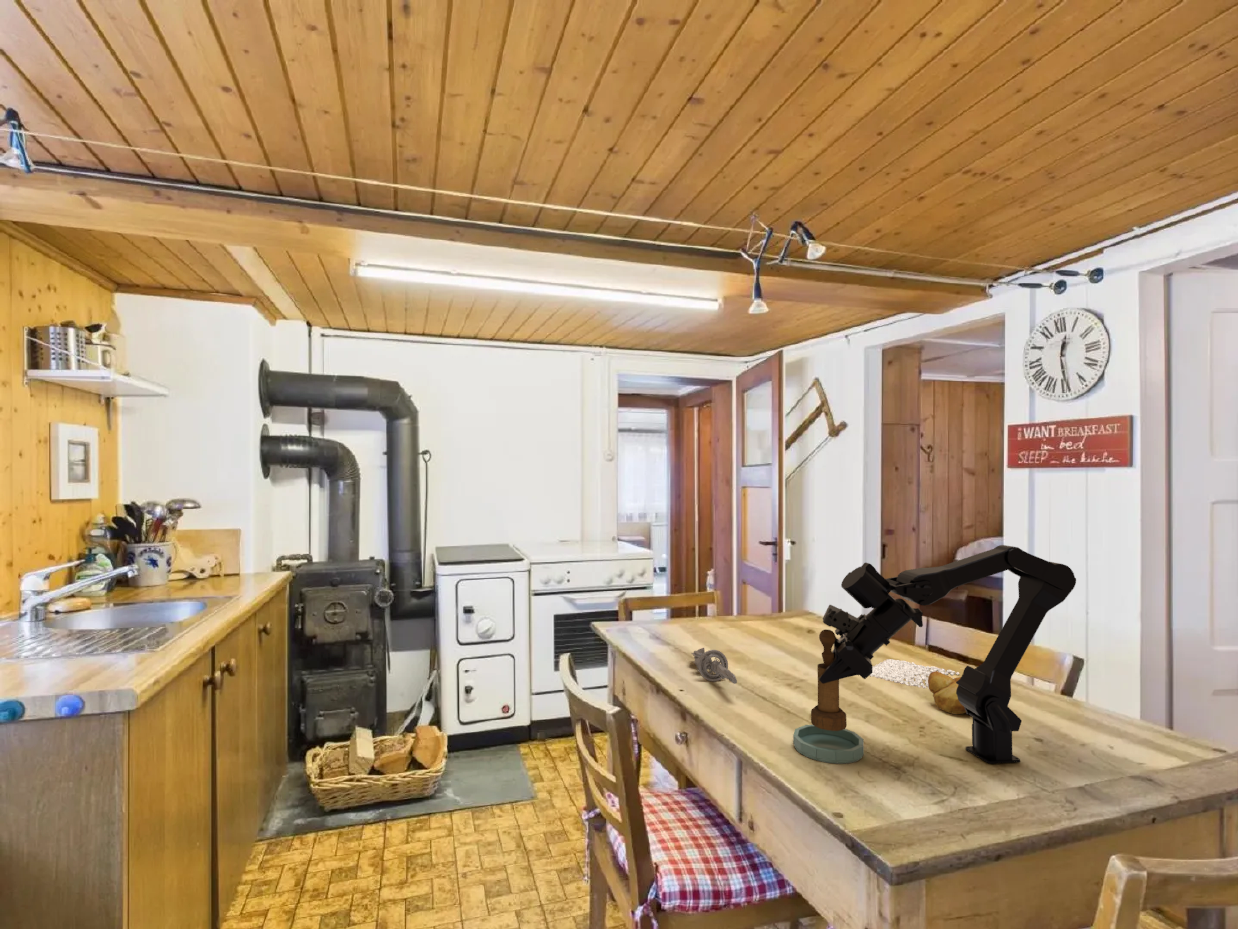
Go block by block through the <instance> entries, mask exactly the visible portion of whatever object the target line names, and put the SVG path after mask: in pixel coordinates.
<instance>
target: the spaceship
mask: <svg viewBox="0 0 1238 929" xmlns="http://www.w3.org/2000/svg"><path fill="white" fill-rule="evenodd" d="M691 655H692V656H693V658H694V660H693V661H692V663H693V664H695V666H696V668H697V669H696V668H695V671H697V672H699V673H700V676H702V678H703V679H705V680H707V681H708V682H718V681H721V680H725V679H727V680H728V681H730V682H731V683H732V684H735V685H736V684H737V683H738V680H737V678H736V675H735V674H734V673H733V672H731V670H730V669H729V668H728V667H729V663H728V659H727V657H726V655H725V654H724V653H723V652H722V651H720V650H717V649H710V650H707V651H705V647H702V648H699V649H696V650H694V651H693V652H691ZM712 658H714V660H712Z"/></svg>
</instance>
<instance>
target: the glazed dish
mask: <svg viewBox="0 0 1238 929" xmlns="http://www.w3.org/2000/svg"><path fill="white" fill-rule="evenodd" d="M792 735H793V736H792V738H793V739H792V744H793V745H794V749H795V750H796V751H797V752H798V753H799V754H801V755H802V756H804V757H807V758H808V759H811V760H814V761H818V762H821V763H828V764H836V765H837V764H839V765H840V764H842V765H843V764H851V763H856V762H858V761H861V759H862V758H864V753H865V752H864V749H865V747H864V746H865V745H864V744H865V743H864V741H865V740H864V738H863V737H861V736H860V735H859V734H858V733H857V732H855V731H852V730H850V729H847V728H845V729H843V730H840V731H830V730H824V729H820V728H818V727H815V726H814V725H813V724H804V725H802V726H800V727H799V726H798V727H797V728H794V733H793V734H792Z"/></svg>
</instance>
